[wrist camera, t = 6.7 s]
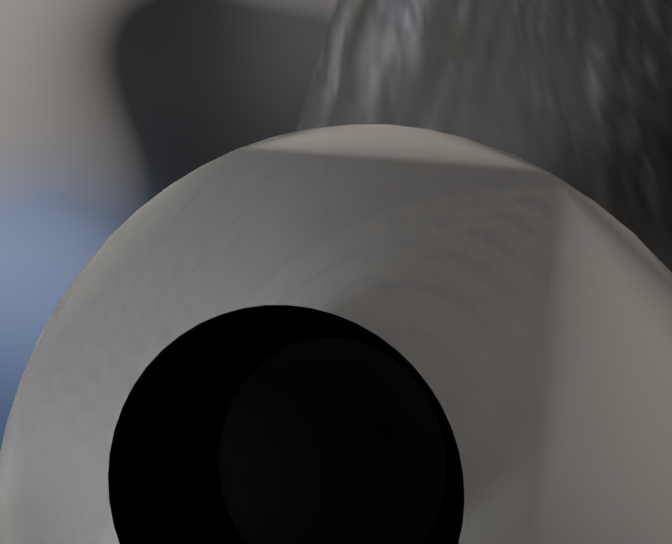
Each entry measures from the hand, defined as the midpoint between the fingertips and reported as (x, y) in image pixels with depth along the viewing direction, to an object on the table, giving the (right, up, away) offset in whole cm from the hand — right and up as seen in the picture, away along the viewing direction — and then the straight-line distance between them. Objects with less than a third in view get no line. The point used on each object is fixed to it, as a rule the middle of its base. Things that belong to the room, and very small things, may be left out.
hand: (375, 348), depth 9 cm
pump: (+1, -3, +6) cm, 7 cm away
